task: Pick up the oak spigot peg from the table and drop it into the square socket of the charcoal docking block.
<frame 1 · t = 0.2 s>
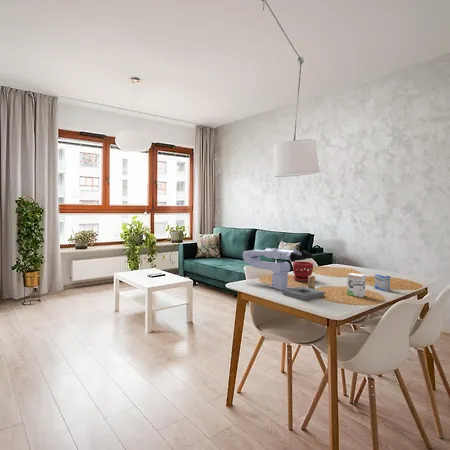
hand: (307, 257, 192), 21 cm above the table, tool horizontal, fingers open, 7 cm apart
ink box: (356, 295, 193), on the table
plant pot: (302, 280, 232), on the table
spigot peg: (311, 289, 205), on the table
medicine box: (382, 289, 207), on the table
docking block: (303, 295, 192), on the table
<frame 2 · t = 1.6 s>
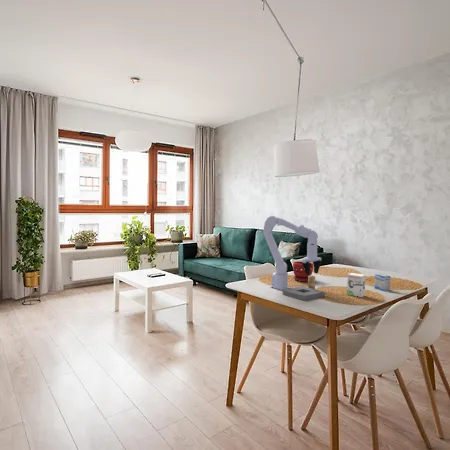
hand: (311, 273, 205), 9 cm above the table, tool pointing down, fingers open, 7 cm apart
nothing on the table moved.
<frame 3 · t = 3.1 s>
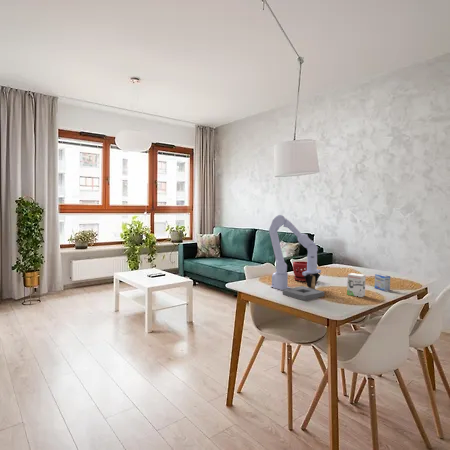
hand: (311, 286, 205), 2 cm above the table, tool pointing down, fingers closed on spigot peg, 4 cm apart
spigot peg: (311, 289, 205), on the table, touching gripper
everything else where it was.
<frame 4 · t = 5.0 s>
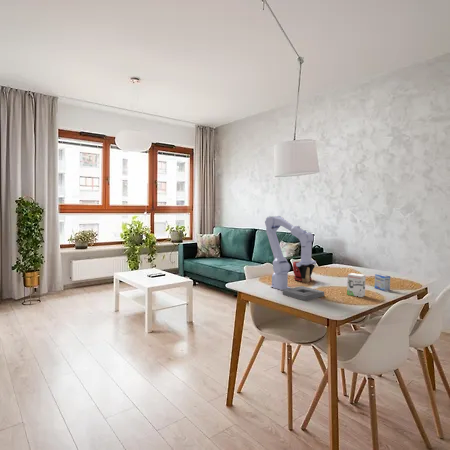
hand: (305, 277, 195), 9 cm above the table, tool pointing down, fingers closed on spigot peg, 4 cm apart
spigot peg: (305, 281, 195), point 7 cm above the table, touching gripper
everything else where it was.
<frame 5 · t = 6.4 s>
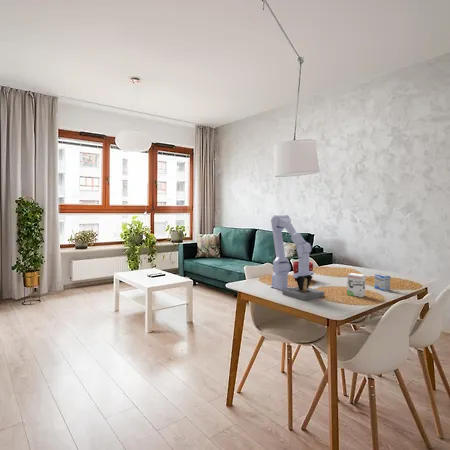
hand: (303, 289, 192), 3 cm above the table, tool pointing down, fingers closed on spigot peg, 4 cm apart
spigot peg: (303, 292, 192), point 1 cm above the table, touching gripper
everything else where it was.
when the fingers open (3 cm above the table, at t = 7.2 s): spigot peg drops 1 cm, resting in docking block.
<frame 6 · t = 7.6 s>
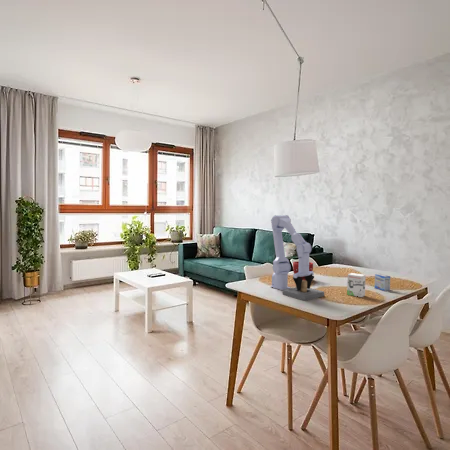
hand: (303, 289, 192), 3 cm above the table, tool pointing down, fingers open, 7 cm apart
spigot peg: (303, 295, 192), resting in docking block
everything else where it was.
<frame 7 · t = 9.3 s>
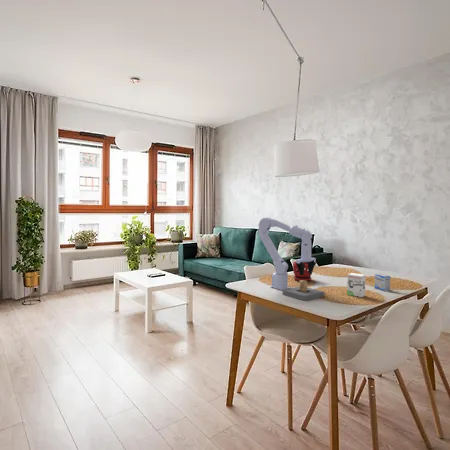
hand: (305, 274, 203), 9 cm above the table, tool pointing down, fingers open, 7 cm apart
nothing on the table moved.
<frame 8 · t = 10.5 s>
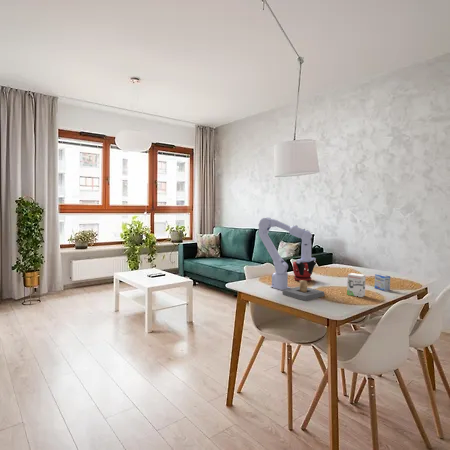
hand: (306, 274, 203), 9 cm above the table, tool pointing down, fingers open, 7 cm apart
nothing on the table moved.
at the end: spigot peg 0.0 cm off-centre on the docking block, point 0.0 cm above the docking block's base; spigot peg tilted 0°; the gripper is holding nothing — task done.
